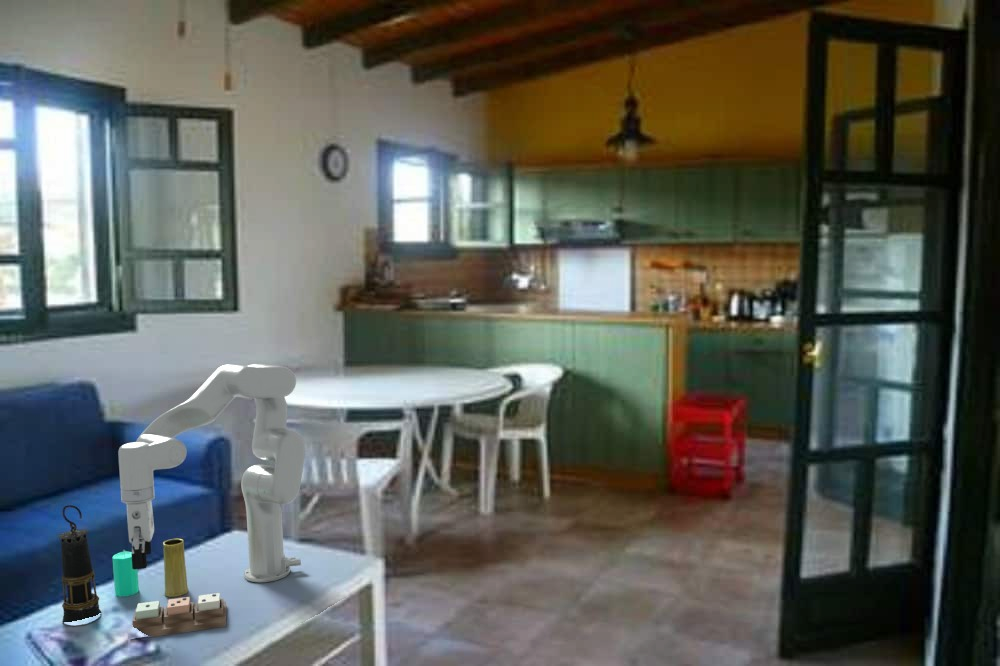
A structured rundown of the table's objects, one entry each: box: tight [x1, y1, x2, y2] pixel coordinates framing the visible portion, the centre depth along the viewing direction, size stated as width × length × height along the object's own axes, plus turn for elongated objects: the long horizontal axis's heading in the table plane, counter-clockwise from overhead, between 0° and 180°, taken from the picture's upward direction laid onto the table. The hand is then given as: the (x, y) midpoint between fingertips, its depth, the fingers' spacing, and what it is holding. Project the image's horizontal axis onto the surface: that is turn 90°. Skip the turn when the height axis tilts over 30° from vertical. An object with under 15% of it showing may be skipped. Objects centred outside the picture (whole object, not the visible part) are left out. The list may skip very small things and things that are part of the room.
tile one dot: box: [135, 600, 161, 620], centre depth 218 cm, size 5×5×3 cm
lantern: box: [57, 504, 102, 623], centre depth 222 cm, size 9×9×30 cm
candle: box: [111, 550, 140, 598], centre depth 239 cm, size 6×6×12 cm
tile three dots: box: [166, 596, 191, 615], centre depth 220 cm, size 5×5×3 cm
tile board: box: [131, 597, 227, 638], centre depth 220 cm, size 22×12×4 cm, turn 107°
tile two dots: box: [197, 592, 221, 611], centre depth 222 cm, size 5×5×3 cm
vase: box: [162, 538, 189, 598], centre depth 238 cm, size 6×6×14 cm
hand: (142, 561), depth 217 cm, fingers open, 9 cm apart
